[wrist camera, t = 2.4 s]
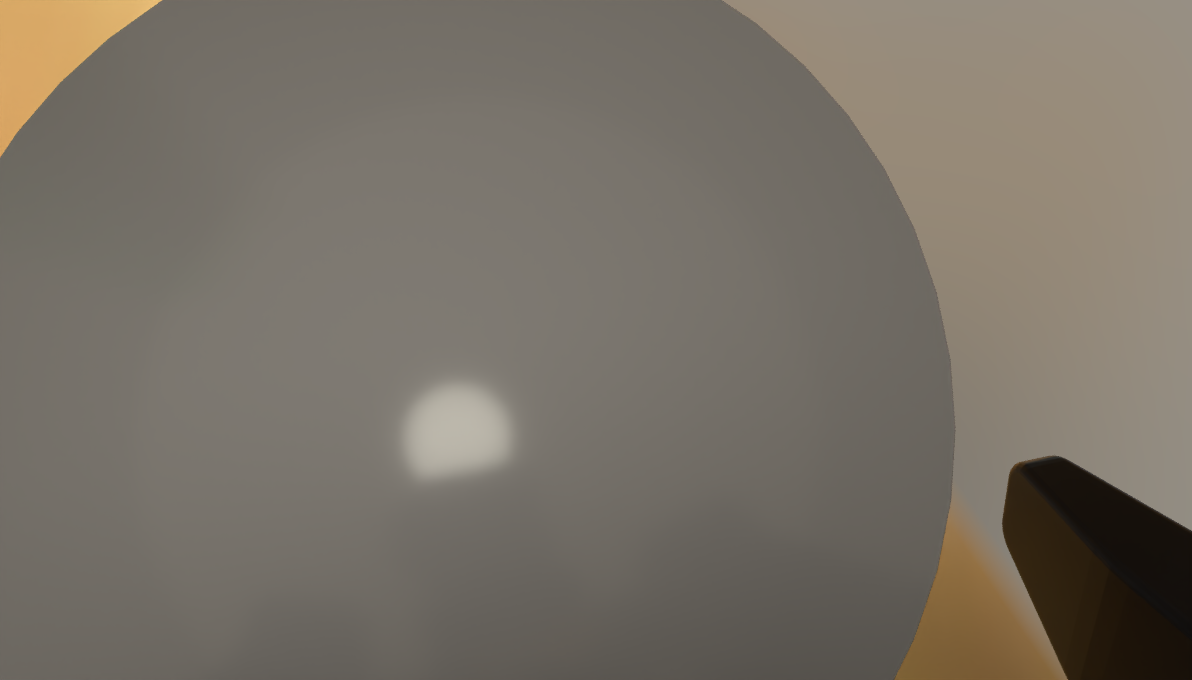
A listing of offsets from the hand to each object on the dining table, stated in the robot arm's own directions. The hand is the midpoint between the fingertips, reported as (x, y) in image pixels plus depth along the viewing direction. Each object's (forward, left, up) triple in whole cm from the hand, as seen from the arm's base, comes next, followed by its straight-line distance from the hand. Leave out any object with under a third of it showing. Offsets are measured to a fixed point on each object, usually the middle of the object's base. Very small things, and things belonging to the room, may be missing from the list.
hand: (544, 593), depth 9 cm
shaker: (+1, -1, -9) cm, 9 cm away
